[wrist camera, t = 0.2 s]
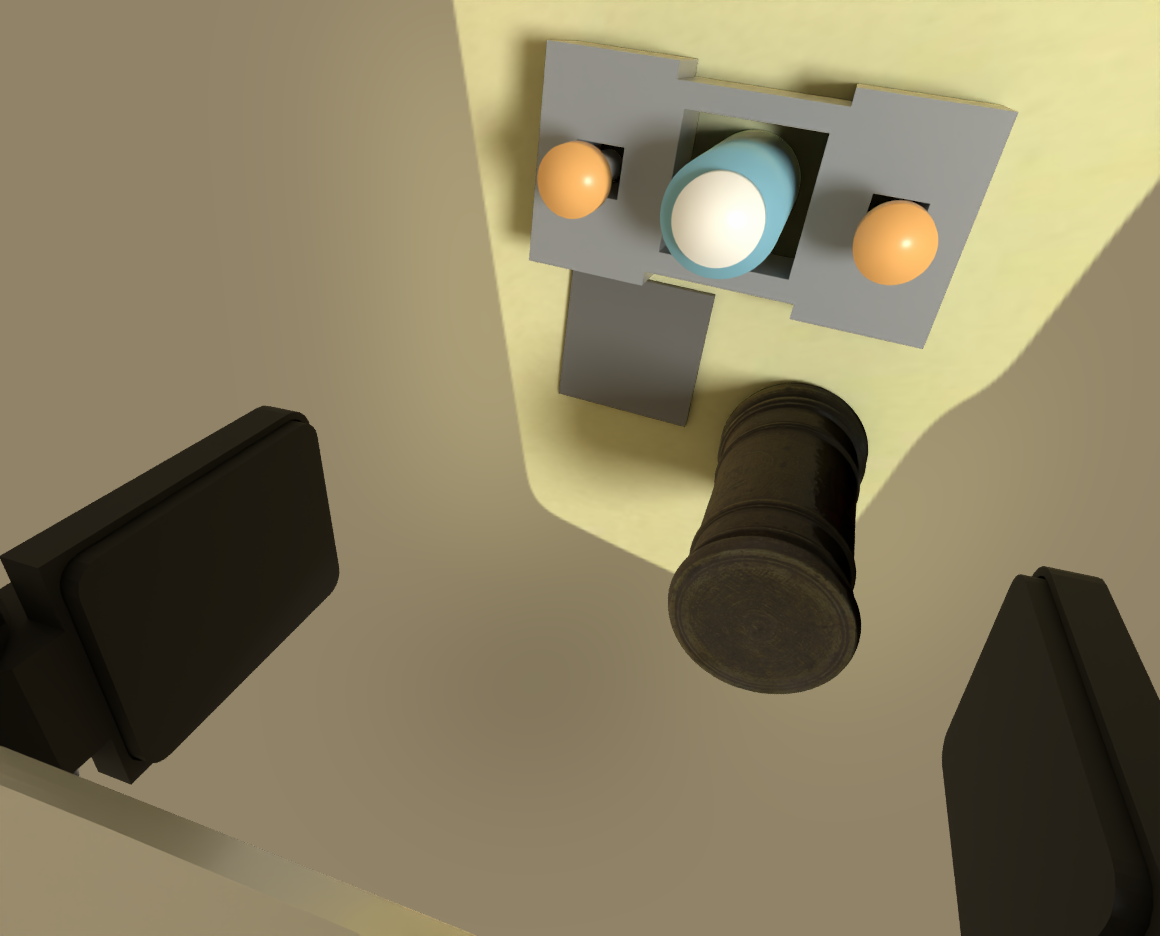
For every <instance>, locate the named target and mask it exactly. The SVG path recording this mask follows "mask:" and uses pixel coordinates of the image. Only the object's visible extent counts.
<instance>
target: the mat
mask: <svg viewBox="0 0 1160 936" xmlns="http://www.w3.org/2000/svg"><path fill="white" fill-rule="evenodd" d="M714 298H715V294H710V293H706V292H701V291H697V290H693V289H688V288H684V287H679V286H675V285H670V284H666V283H661V282H657V281H652V280H647V281H646V282H645V283H644V284H643V285H642V286H641V285H637V284H632V283H628V282H623V281H619V280H615V279H610V278H606V277H601V276H597V275H592V274H588V273H584V272H579V271H575V270H573V274H572V283H571V292H570V300H569V309H568V318H567V326H566V335H565V344H564V352H563V361H562V370H561V379H560V387H559V393H560V394H564V395H567V396H571V397H575V398H579V399H582V400H586V401H590V402H594V403H597V404H601V405H605V406H609V407H612V408H616V409H620V410H624V411H627V412H631V413H635V414H639V415H642V416H646V417H650V418H654V419H657V420H661V421H665V422H669V423H672V424H676V425H680V426H684V427H685V425H686V422H687V418H688V413H689V409H690V404H691V400H692V396H693V391H694V387H695V382H696V378H697V374H698V369H699V365H700V360H701V356H702V351H703V347H704V343H705V338H706V334H707V329H708V325H709V321H710V316H711V312H712V307H713V303H714Z"/></svg>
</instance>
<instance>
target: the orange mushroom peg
mask: <svg viewBox="0 0 1160 936" xmlns="http://www.w3.org/2000/svg"><path fill="white" fill-rule="evenodd" d="M937 248H938V232H937V229H936V226H935V223H934V221H933V219H932V217H931V215H930V214H929V213H928V212H927V210H925V209H924V208H923V207H922V206H920V205H918V204H916V203H914V202H911V201H906V200H894V201H889V202H885V203H883V204H880V205H878V206H877V207H875V208H873V209H872V210H870V211H869V212H868V213H867V214H866V215H865V216H864V217H863V218H862V220H861V221H860V223H859V225H858V226H857V228H856V231H855V234H854V239H853V258H854V261H855V264H856V266H857V268H858V270H859V271H860V272H861V273H862V274H863V275H864V276H865V277H866V278H867V279H869V280H871V281H873V282H875V283H878V284H882V285H898V284H903V283H906V282H909V281H911V280H913V279H915V278H916V277H918V276H919V275H920V274H922V273H923V272H924V271H925V270H926V269H927V268H928V267H929V265H930V264H931V262H932V261H933V259H934V257H935V255H936V252H937Z"/></svg>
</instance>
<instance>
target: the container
mask: <svg viewBox="0 0 1160 936" xmlns="http://www.w3.org/2000/svg"><path fill="white" fill-rule="evenodd" d="M867 457H868V441H867V436H866V432H865V429H864V427H863V425H862V422H861V421H860V419H859V417H858V416H857V414H856V413H855V412H854V410H853V409H852V408H851V407H850V406H849V405H848V404H847V403H846V402H845V401H844V400H842V399H841V398H840V397H838V396H837V395H835V394H833V393H831V392H829V391H827V390H825V389H823V388H820V387H816V386H813V385H808V384H799V383H791V384H781V385H776V386H772V387H769V388H766V389H763V390H761V391H759V392H757V393H755V394H754V395H752V396H750V397H749V398H747V399H746V400H745V401H744V402H742V403H741V404H740V405H739V406H738V407H737V408H736V409H735V410H734V412H733V413H732V414H731V416H730V417H729V419H728V421H727V423H726V425H725V427H724V430H723V433H722V437H721V443H720V447H719V451H718V465H717V468H716V473H715V481H714V482H715V485H714V489H713V491H712V495H711V498H710V501H709V503H708V506H707V509H706V512H705V515H704V518H703V521H702V524H701V527H700V528H699V530H698V531H697V533H696V535H695V537H694V539H693V541H692V545H691V548H690V554H689V556H688V557H687V558H686V559H685V560H684V561H683V563H682V564H681V565H680V566H679V568H678V569H677V571H676V572H675V574H674V576H673V579H672V581H671V584H670V588H669V593H668V611H669V618H670V621H671V625H672V628H673V631H674V633H675V635H676V637H677V639H678V641H679V643H680V644H681V646H682V647H683V649H684V650H685V652H686V653H687V654H688V655H689V656H690V657H691V659H692V660H693V661H694V662H696V663H697V664H698V665H699V666H700V667H701V668H703V669H704V670H705V671H706V672H708V673H710V674H711V675H713V676H714V677H716V678H718V679H719V680H721V681H723V682H725V683H728V684H730V685H732V686H735V687H738V688H742V689H745V690H749V691H753V692H758V693H767V694H790V693H797V692H802V691H806V690H810V689H813V688H815V687H818V686H820V685H822V684H824V683H826V682H828V681H830V680H831V679H833V678H834V677H836V676H837V675H838V674H839V673H840V672H841V671H842V670H843V669H844V668H845V667H846V666H847V664H848V663H849V662H850V660H851V659H852V657H853V655H854V653H855V651H856V649H857V646H858V643H859V639H860V634H861V618H860V612H859V608H858V605H857V602H856V600H855V598H854V594H853V589H854V585H855V580H856V567H855V561H854V546H855V545H854V544H855V518H856V503H857V501H858V497H859V492H860V484H861V482H862V480H863V477H864V473H865V468H866V462H867Z"/></svg>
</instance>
